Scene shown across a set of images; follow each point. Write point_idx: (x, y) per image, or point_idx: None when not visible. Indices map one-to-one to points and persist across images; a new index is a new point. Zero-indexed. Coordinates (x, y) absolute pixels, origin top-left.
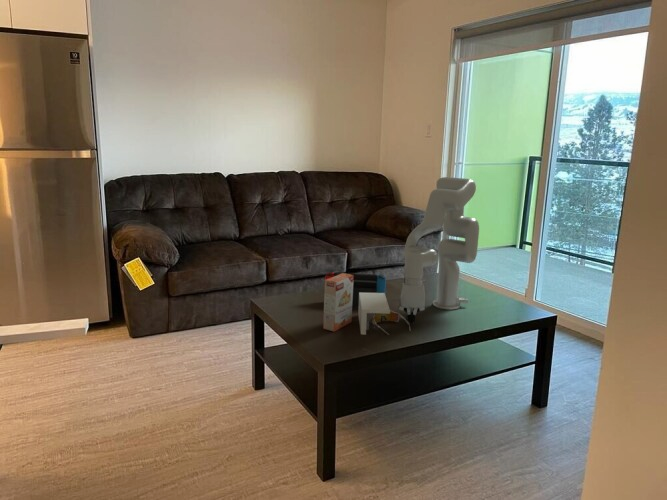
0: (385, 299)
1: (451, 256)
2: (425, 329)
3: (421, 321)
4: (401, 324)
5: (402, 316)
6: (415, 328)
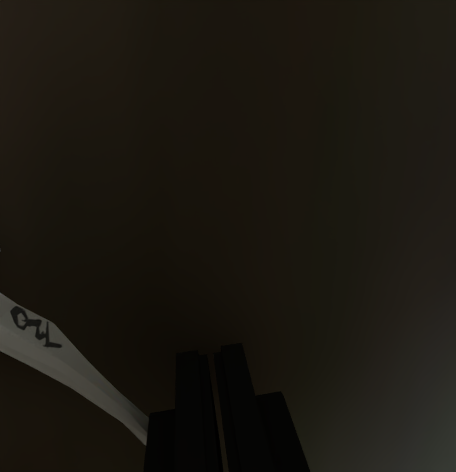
0: None
1: None
2: (395, 444)
3: (402, 158)
4: None
5: (36, 358)
6: None
